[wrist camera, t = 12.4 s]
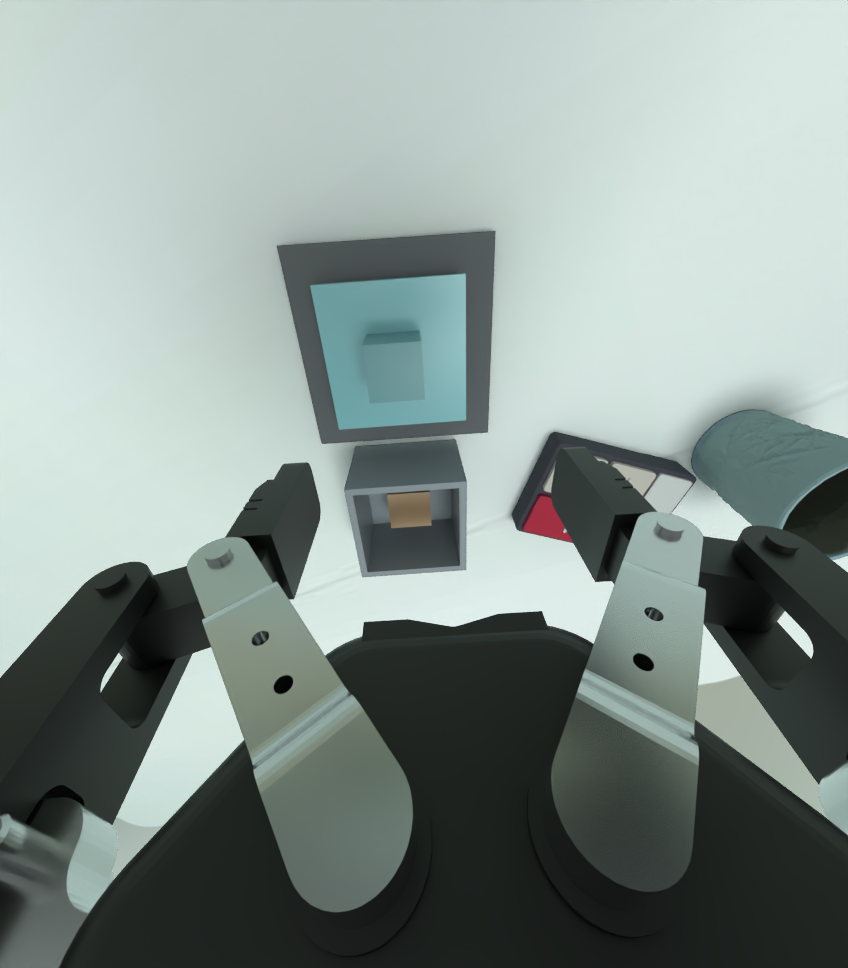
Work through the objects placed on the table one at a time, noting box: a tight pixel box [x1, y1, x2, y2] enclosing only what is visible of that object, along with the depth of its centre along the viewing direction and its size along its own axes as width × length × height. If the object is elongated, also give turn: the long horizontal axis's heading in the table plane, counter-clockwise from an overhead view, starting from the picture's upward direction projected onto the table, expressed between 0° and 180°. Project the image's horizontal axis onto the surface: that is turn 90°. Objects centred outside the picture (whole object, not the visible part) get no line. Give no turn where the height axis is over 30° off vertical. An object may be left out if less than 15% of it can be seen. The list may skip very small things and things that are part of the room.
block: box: [387, 490, 432, 528], centre depth 37 cm, size 4×4×4 cm
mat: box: [277, 231, 495, 444], centre depth 32 cm, size 16×16×1 cm
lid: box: [310, 273, 466, 430], centre depth 28 cm, size 11×11×7 cm
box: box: [344, 440, 467, 577], centre depth 36 cm, size 10×10×8 cm
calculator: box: [512, 432, 696, 543], centre depth 39 cm, size 11×4×15 cm
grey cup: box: [691, 410, 848, 560], centre depth 33 cm, size 10×10×12 cm
